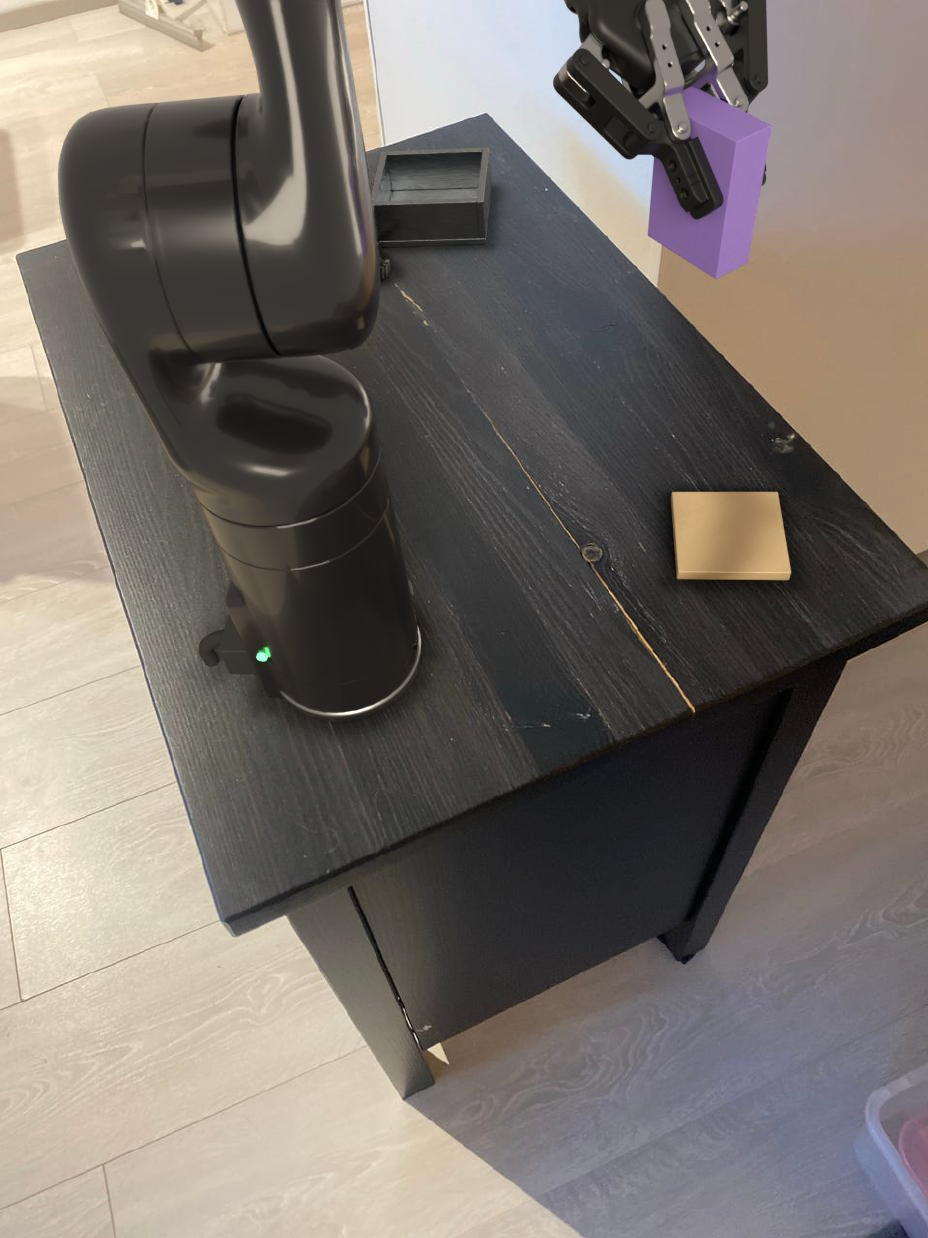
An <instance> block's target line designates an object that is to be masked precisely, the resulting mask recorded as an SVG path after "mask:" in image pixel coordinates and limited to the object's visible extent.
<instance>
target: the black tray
mask: <svg viewBox="0 0 928 1238" xmlns="http://www.w3.org/2000/svg"><path fill="white" fill-rule="evenodd" d="M490 154H491V153H490V147H465V148H464V147H463V148H445V149H444V148H441V149H438V148H437V149H413V150H388V151H387V150H385V151H384V150H383V151H381V152H380V156H379V161H378V165H377V169H376V173H375V176H374V181H373V186H372V188H371V191H372V198H373V205H374V212H375V219H376V226H377V235H378V243H379V245H380V246H381V247H382V248H398V247H399V248H400V247H405V248H406V247H437V246H438V247H439V246H440V247H441V246H473V245H474V246H475V245H476V246H477V245H479V246H480V245H487V238H488V230H489V229H488V227H489V219H490V209H491V200H492V174H491V158H490V157H491V156H490Z"/></svg>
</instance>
